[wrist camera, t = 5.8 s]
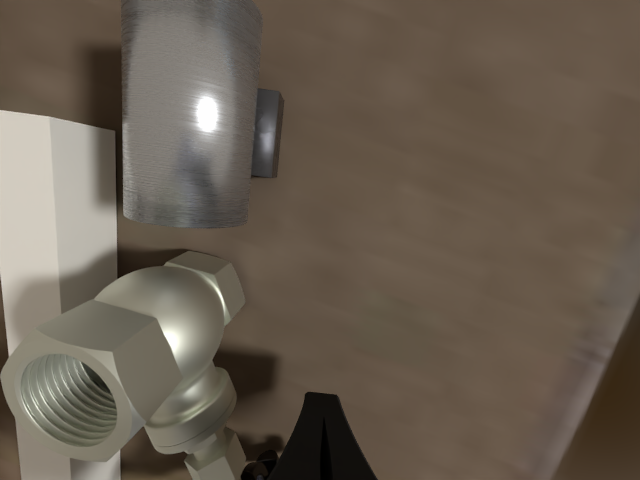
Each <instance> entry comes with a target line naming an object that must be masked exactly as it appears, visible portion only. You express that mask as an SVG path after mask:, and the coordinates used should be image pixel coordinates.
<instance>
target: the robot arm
mask: <svg viewBox="0 0 640 480" xmlns="http://www.w3.org/2000/svg"><path fill="white" fill-rule="evenodd" d="M267 480H378V479H377V478H376V476H375V474H374V473H373V471H372V469H371V467H370V466H369V464H368V462H367V460H366V458H365V457H364V455H363V453H362V451H361V449H360V447H359V445H358V443H357V441H356V439H355V437H354V435H353V433H352V431H351V428H350V426H349V424H348V421H347V419H346V416H345V414H344V411H343V409H342V406H341V403H340V400H339V397H338V396H337V395H334V394H325V393H316V392H307V393H306V394H305V399H304V404H303V407H302V410H301V413H300V416H299V419H298V421H297V423H296V426H295V428H294V431H293V433H292V435H291V437H290V439H289V441H288V443H287V445H286V447H285V449H284V451H283V453H282V455H281V456H280V458H279V460H278V462H277V463H276V465H275V467H274V468H273V470H272V472H271V473H270V475H269V477H268V478H267Z"/></svg>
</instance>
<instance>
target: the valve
mask: <svg viewBox="0 0 640 480" xmlns="http://www.w3.org/2000/svg"><path fill="white" fill-rule="evenodd" d="M245 303H246V302H245V297H244V294H243V290H242V287H241V284H240V281H239V279H238V276H237V274H236V272H235V269H234V267H233V266H232V264H231V262H229V261H226V260H224V259H221V258H218V257H215V256H211V255H207V254H203V253H198V252H193V251H187V252H185V253H183V254H181V255H179V256H177V257H175V258H173V259H171V260H169V261H167V262H166V263H165V265H164V266H155V267H148V268H144V269H140V270H137V271H134V272H131V273H129V274H126V275H124V276H122V277H120V278H119V279H117V280H115V281H114V282H112V283H111V284H110V285H108V286H107V287H106V288H104V289H103V290H102V291H101V292H100V293H99V294H98V295H97V296H96V297H95V298H94V299H91V300H89V301H87V302H85V303H83V304H81V305H79V306H77V307H75V308H73V309H71V310H69V311H67V312H65V313H63V314H61V315H59V316H57V317H55V318H53V319H51V320H49V321H47V322H45V323H43V324H41V325H39V326H37V327H35V328H34V329H33V330H32V331H31V332H30V333H29V334H28V335H27V336H26V337H25V338H24V340H23V341H22V342H21V343H20V344H19V345H18V347H17V348H16V349H15V350H14V352H13V353H12V354H11V355H10V357H9V358H8V360H7V362H6V363H5V365H4V367H3V369H2V371H1V374H0V378H1V384H2V388H3V392H4V395H5V398H6V401H7V403H8V406H9V408H10V410H11V412H12V413H13V415H14V417H15V418H16V420H17V421H18V422H19V423H20V425H21V426H22V427H23V428H24V429H25V430H26V431H27V432H28V434H30V435H31V436H32V437H33V438H34V439H35V440H37V441H38V442H39V443H41V444H42V445H44V446H45V447H47V448H49V449H50V450H52V451H54V452H56V453H58V454H61V455H64V456H66V457H70V458H74V459H79V460H84V461H92V462H107V461H108V460H110V459H111V458H112V457H113V456H114V455H115V454H116V453H117V452H118V451H119V450H120V449H121V448H122V447H123V446H124V445H125V444H126V443H127V442H128V441H129V440H130V439H131V438H132V437H133V436H134V435H135V434H136V433H137V432H138V431H139V430H140V429H141V428H142V427H143V426H144V428H145V430H146V432H147V434H148V436H149V438H150V440H151V442H152V444H153V446H154V448H155V449H156V450H157V451H158V452H160V453H163V454H175V453H180V452H183V451H184V452H186V453H187V454H188V455H187V457H186V458H185V460H184V462H185V464H186V466H187V468H188V470H189V472H190V474H191V477H192V479H193V480H267V478H268V477H269V475H270V473H271V472H272V470H273V468H274V467H275V465H276V463H277V462H278V460H279V457H278V455H277V453H276V452H275V451H274V450H268V451H265V452H264V453H262V454H261V455H260V456H259V457H258V459H257V461H256V462H252V463H249V464H247V466H246V467H245V468H244V465H245V461H246V456H245V454H244V451H243V449H242V447H241V444H240V442H239V440H238V437H237V435H236V432H234V431H232V430H231V429H229V428H227V427H225V426H226V423H227V420H228V418H229V417H230V415H231V414H232V412H233V410H234V408H235V405H236V401H237V394H236V391H235V389H234V386H233V384H232V381H231V379H230V377H229V374H228V372H227V371H226V370H225V369H223V368H220V367H215V365H214V363H213V360H212V359H213V358H214V356H215V354H216V352H217V350H218V348H219V345H220V343H221V339H222V335H223V331H224V327H225V326H226V325H227V324H228V323H229V322H230V321H231V320H232V319H233V317H234V316H235V315H236V314H237V312H238V311H239V310H240V309H241V308H242V306H243V305H244V304H245ZM243 468H244V470H243Z"/></svg>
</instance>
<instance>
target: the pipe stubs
mask: <svg viewBox="0 0 640 480" xmlns="http://www.w3.org/2000/svg"><path fill="white" fill-rule="evenodd" d="M262 27H263V17H262V14H261V12H260V10H259V9H258V7H257V6H256V4H255V3H254V2H253V1H252V0H121V38H122V129H123V214H124V216H125V217H127V218H129V219H131V220H135V221H138V222H143V223H148V224H154V225H161V226H170V227H183V228H226V227H235V226H240V225H243V224H246V223H247V219H248V206H249V193H250V180H251V175H254V176H262V177H270V178H276V177H277V170H278V159H279V149H280V139H281V128H282V118H283V107H284V100H283V98H282V96H281V94H280V92H279V91H273V90H266V89H259V88H258V78H259V65H260V52H261V39H262Z"/></svg>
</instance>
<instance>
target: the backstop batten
mask: <svg viewBox="0 0 640 480" xmlns="http://www.w3.org/2000/svg"><path fill="white" fill-rule="evenodd" d="M0 275H1V285H2V295H3V304H4V314H5V324H6V333H7V343H8V353H9V357H10V355H11V354H12V353H13V352H14V350H15V349H16V348H17V347H18V345H19V344H20V343H21V342H22V341H23V340H24V338H25V337H26V336H27V335H28V334H29V333H30V332H31V331H32V330H33V329H34V328H35V327H37V326H39V325H41V324H43V323H45V322H47V321H49V320H51V319H53V318H55V317H57V316H59V315H61V314H63V313H65V312H67V311H69V310H71V309H73V308H75V307H77V306H79V305H81V304H83V303H85V302H87V301H89V300H91V299H94V298H95V297H96V296H97V295H98V294H99V293H100V292H101V291H102V290H103V289H104V288H106V287H107V286H108V285H110V284H111V283H112V282H114V281H115V280H117V220H116V157H115V131H113V130H108V129H104V128H99V127H94V126H90V125H85V124H80V123H76V122H71V121H67V120H62V119H57V118H53V117H47V116H40V115H32V114H25V113H17V112H10V111H2V110H0ZM15 421H16V430H17V440H18V450H19V459H20V469H21V479H22V480H121V471H120V450H119V451H118V452H117V453H116V454H115V455H114V456H113V457H112V458H111V459H110V460H108V461H107V462H92V461H84V460H79V459H74V458H70V457H66V456H64V455H61V454H58V453H56V452H54V451H52V450H50V449H49V448H47V447H45V446H44V445H42V444H41V443H39V442H38V441H37V440H35V439H34V438H33V437H32V436H31V435H30V434H28V432H27V431H26V430H25V429H24V428H23V427H22V426H21V425H20V423H19V422H18V421H17V420H16V418H15Z"/></svg>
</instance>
